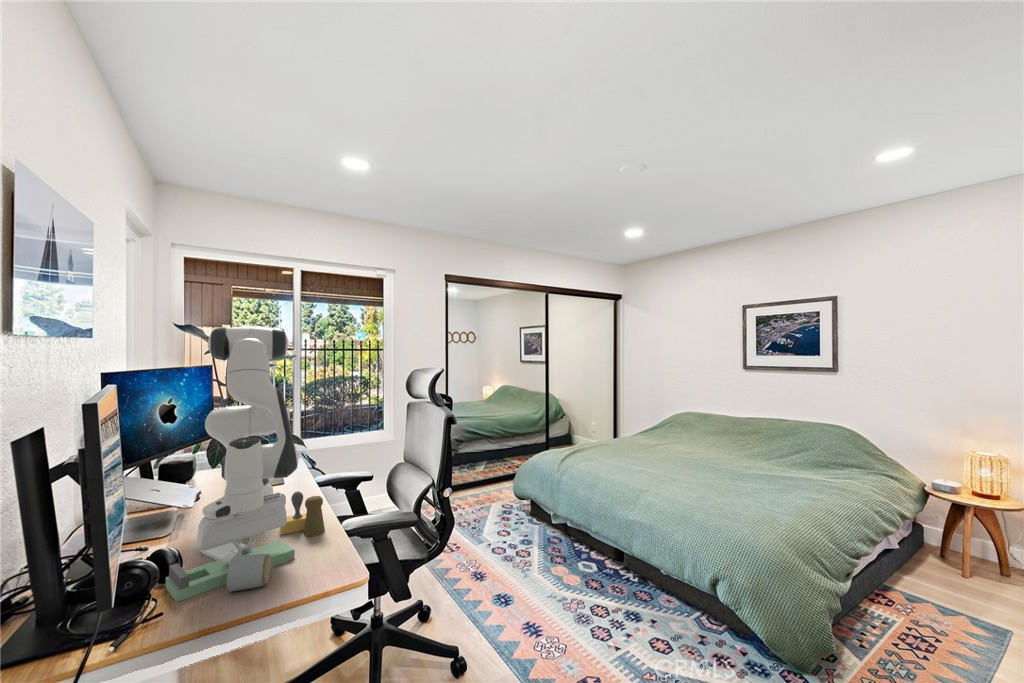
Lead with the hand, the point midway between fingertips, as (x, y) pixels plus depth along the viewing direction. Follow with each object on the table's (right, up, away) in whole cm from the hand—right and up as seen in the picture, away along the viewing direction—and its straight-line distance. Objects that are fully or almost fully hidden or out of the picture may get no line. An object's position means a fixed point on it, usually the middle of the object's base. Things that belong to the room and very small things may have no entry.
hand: (244, 554), depth 111 cm
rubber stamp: (+1, -5, +26) cm, 27 cm away
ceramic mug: (+6, -4, -8) cm, 11 cm away
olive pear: (+8, -5, +23) cm, 25 cm away
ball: (-1, -1, -2) cm, 2 cm away
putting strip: (-2, -4, -2) cm, 5 cm away
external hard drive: (-12, -5, +11) cm, 17 cm away
